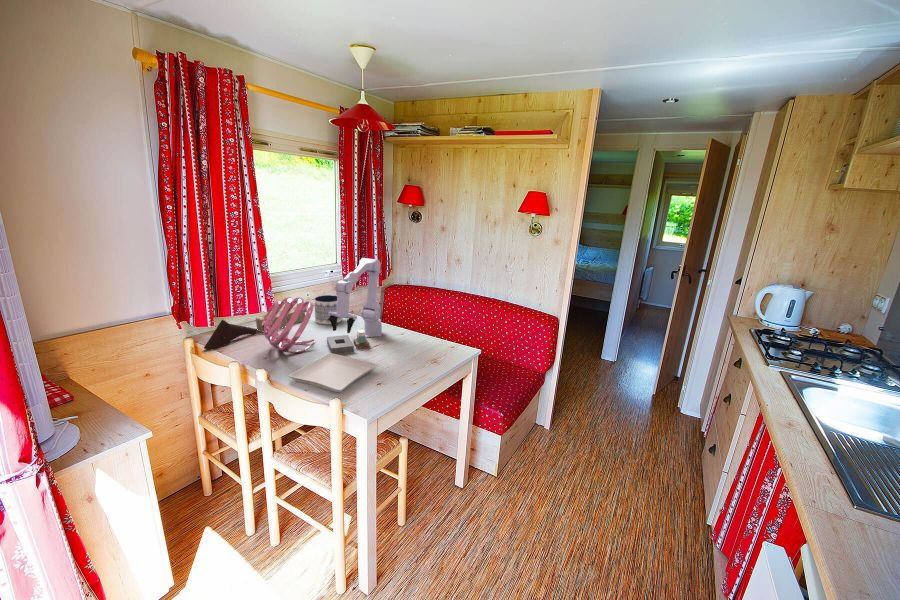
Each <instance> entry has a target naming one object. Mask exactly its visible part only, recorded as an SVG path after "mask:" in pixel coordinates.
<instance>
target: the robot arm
mask: <svg viewBox="0 0 900 600" xmlns="http://www.w3.org/2000/svg"><path fill="white" fill-rule="evenodd" d="M381 265H382V264H381V262H380V260H379V259H375V258H374V259H373V258H368V257H366V258H365V257H362V258H361V259H360V260H359V263H358V265H357V267H356V268H355V269H354V270H353V271H350V272H349V273H347V275H346V276H345V277H343V279H342V280H338V281H337V282H336V284H335V287H334V288H335V292H336V293H335V295H336V296H337V312H328V316H330V317H329V320H330V322H331V324H330V325H331V328H332V331H333V332H335V331H337V325H338V323H337V319H338V317H341V318H342V319H346V325H347V326H346V328H347V329H346V333H347V334H350V333H351V330H352V328H353V325H354V323H355V322H356V320H357V319H358V315H356V314H353V313H349V311H350V309H349V308H350V293H352V291H353V288H354V286H355V284H356V283H358V282H359V280H360V278H359V277H360V276H361V275H363V273H367V275H368V279H367V280H368V283H367V285H368V286H367V293H366V295H367V296H366V303H364V304H363V305H362V307H361V311H360V317H361V318H362V320H363V321H364V322H363V323H364V325H363V326H364V329H363V330H364V331H365V338H372V337H382V325H383V324H382V320H381V319H380V318H381V306H380V305H378V304H377V296H378V285H379V284H378V283H379V275H380V274H381Z"/></svg>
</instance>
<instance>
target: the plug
mask: <svg viewBox="0 0 900 600" xmlns="http://www.w3.org/2000/svg"><path fill="white" fill-rule="evenodd" d="M356 339H357V342H358V343H364V342H366V339H367V337H365V331H364V329H357V333H356Z"/></svg>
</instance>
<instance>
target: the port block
mask: <svg viewBox="0 0 900 600" xmlns="http://www.w3.org/2000/svg"><path fill="white" fill-rule="evenodd" d="M326 343H327V344H328V345H327V347H328V349H329V352H330V353H333V354H338V355H344V354H350V353H355V345H354V343H353V341H352V340H351V338H350V336H349V335H348V334H344V335H335V336H326Z"/></svg>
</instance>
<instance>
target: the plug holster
mask: <svg viewBox="0 0 900 600" xmlns="http://www.w3.org/2000/svg"><path fill="white" fill-rule="evenodd" d="M352 340H353V341H352V343H353V345H354V348H356V349H364V348H365V349H366V348H370V342H369V340H368V339H367V338H366V342H364V343H358V342H357V338H353V339H352Z"/></svg>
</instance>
